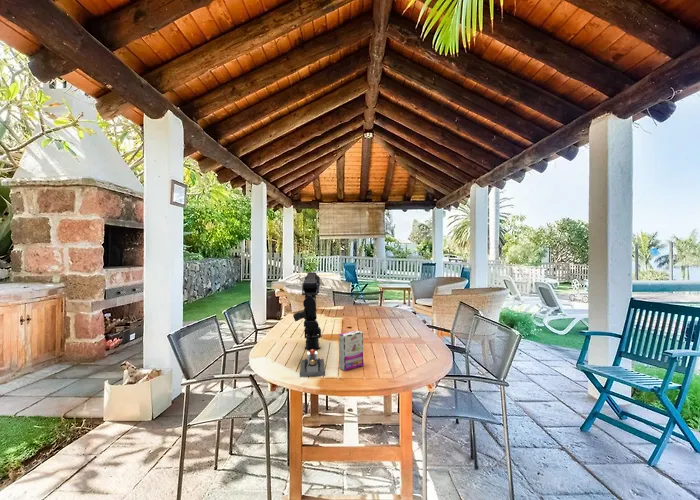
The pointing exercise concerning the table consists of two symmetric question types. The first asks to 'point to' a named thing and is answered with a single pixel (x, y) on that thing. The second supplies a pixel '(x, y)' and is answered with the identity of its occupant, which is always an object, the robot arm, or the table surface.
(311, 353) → the lever
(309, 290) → the robot arm
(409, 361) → the table surface
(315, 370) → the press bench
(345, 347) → the candy bar box
